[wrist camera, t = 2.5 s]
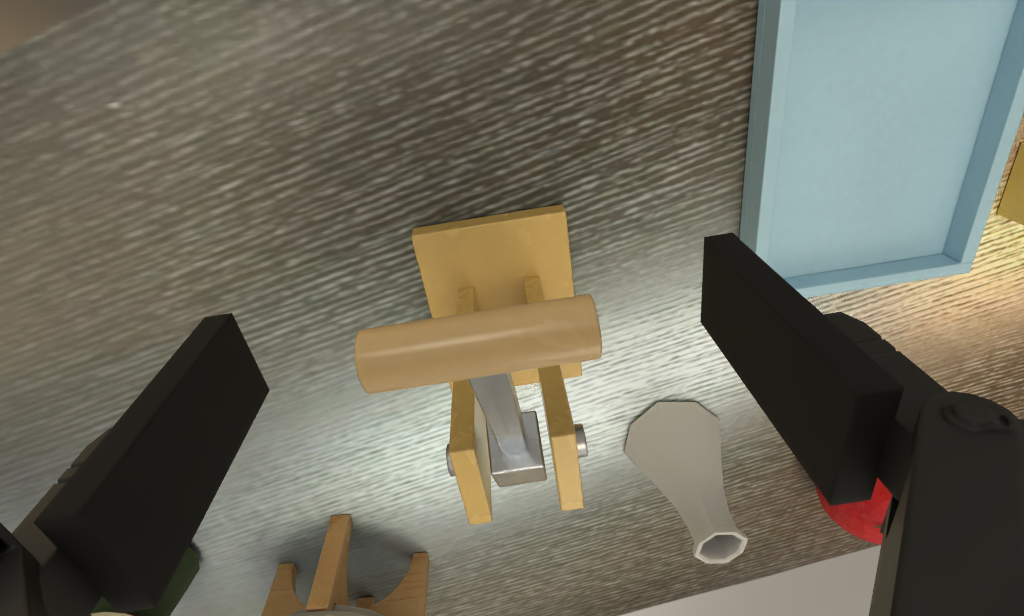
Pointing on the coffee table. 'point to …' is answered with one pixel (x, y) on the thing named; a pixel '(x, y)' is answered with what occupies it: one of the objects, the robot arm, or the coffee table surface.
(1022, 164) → the butter
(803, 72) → the butter dish
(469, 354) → the arm
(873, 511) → the tomato
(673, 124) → the coffee table surface
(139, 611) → the character mug
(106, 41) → the coffee table surface
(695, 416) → the flask
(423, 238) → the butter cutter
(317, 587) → the planter
